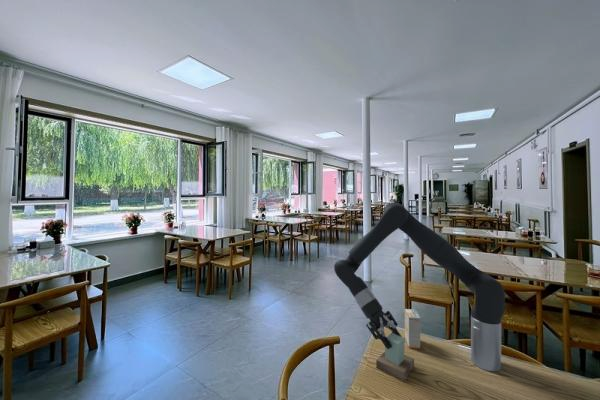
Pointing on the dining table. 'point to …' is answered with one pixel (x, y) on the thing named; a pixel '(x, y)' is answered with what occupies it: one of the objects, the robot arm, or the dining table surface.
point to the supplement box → (412, 328)
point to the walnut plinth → (396, 366)
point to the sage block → (395, 349)
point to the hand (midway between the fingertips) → (395, 343)
